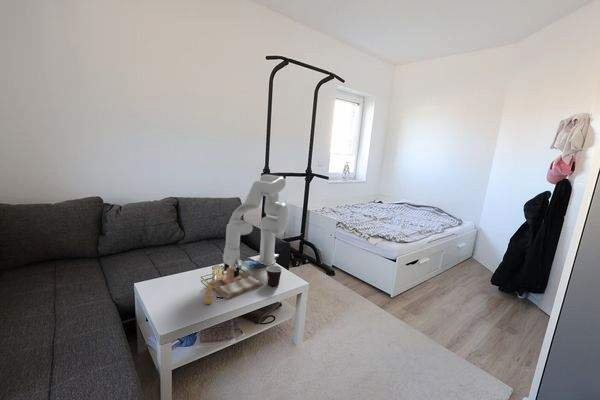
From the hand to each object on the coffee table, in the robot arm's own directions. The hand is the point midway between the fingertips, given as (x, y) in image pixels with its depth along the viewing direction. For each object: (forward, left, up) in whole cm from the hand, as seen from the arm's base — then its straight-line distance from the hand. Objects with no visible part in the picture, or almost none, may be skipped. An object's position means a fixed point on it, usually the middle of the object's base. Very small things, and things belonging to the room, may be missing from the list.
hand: (231, 273), depth 157 cm
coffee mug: (-18, +16, -6) cm, 25 cm away
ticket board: (0, +5, -6) cm, 7 cm away
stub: (0, 0, -4) cm, 4 cm away
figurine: (+21, +12, -6) cm, 25 cm away
